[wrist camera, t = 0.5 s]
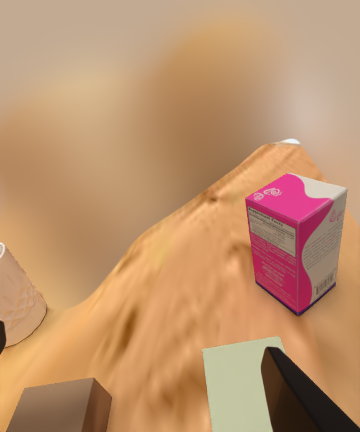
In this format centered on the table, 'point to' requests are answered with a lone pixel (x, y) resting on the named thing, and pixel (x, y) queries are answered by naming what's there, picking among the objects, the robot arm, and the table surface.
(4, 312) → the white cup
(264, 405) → the tile
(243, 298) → the table surface
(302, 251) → the supplement box
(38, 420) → the walnut base
